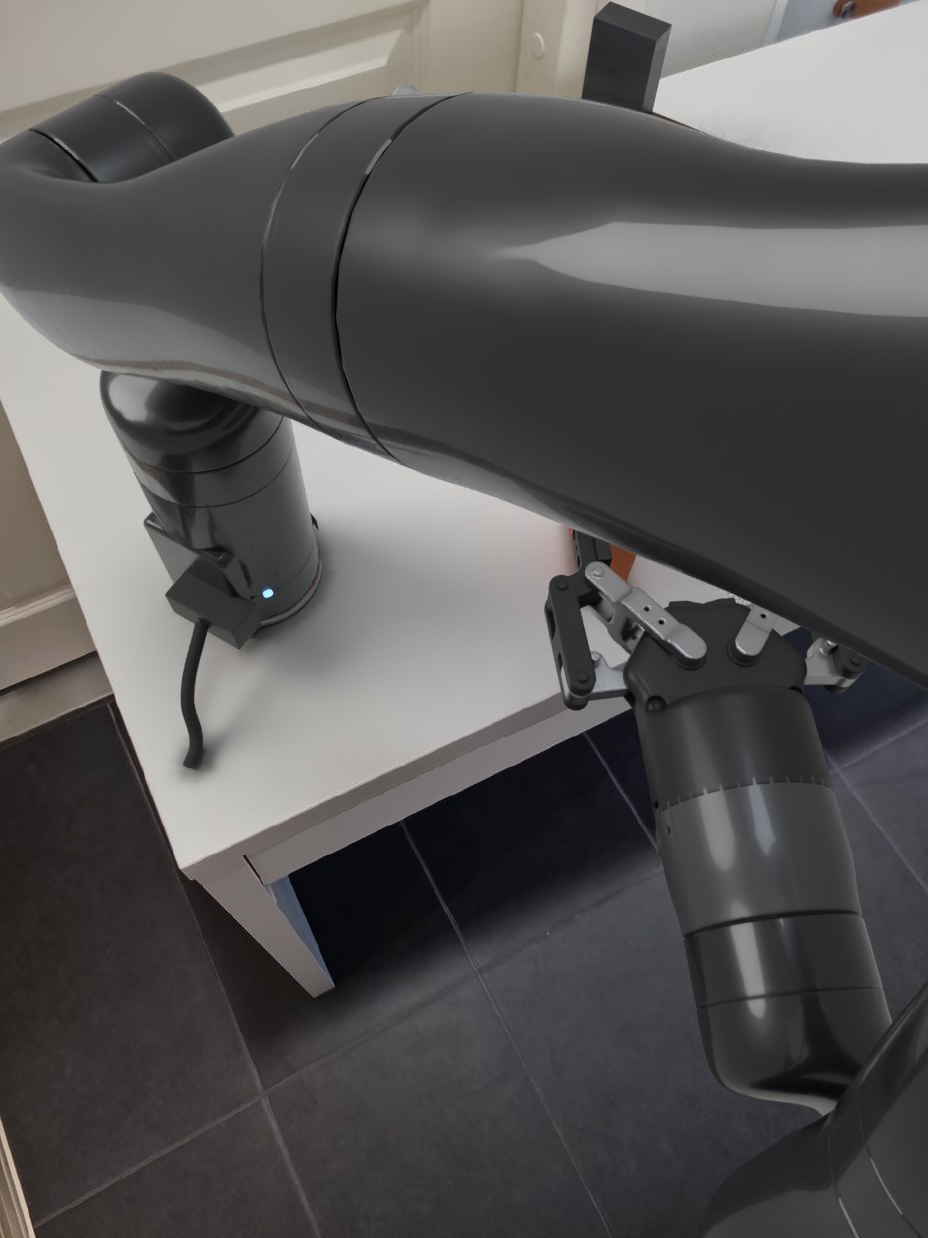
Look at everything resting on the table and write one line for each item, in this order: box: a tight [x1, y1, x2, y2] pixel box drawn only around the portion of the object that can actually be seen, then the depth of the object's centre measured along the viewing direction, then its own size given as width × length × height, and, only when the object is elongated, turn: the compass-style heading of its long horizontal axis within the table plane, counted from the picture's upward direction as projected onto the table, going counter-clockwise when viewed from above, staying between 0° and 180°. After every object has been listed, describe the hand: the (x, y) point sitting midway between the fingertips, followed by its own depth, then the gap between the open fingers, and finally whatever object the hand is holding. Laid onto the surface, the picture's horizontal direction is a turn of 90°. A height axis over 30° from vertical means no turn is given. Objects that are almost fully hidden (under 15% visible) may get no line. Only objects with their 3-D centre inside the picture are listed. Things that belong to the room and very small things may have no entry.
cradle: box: [580, 0, 711, 135], centre depth 80 cm, size 8×17×12 cm, turn 57°
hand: (672, 505), depth 45 cm, fingers open, 8 cm apart
